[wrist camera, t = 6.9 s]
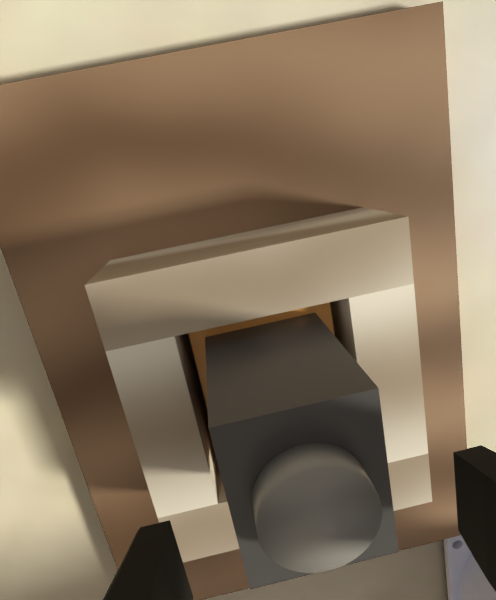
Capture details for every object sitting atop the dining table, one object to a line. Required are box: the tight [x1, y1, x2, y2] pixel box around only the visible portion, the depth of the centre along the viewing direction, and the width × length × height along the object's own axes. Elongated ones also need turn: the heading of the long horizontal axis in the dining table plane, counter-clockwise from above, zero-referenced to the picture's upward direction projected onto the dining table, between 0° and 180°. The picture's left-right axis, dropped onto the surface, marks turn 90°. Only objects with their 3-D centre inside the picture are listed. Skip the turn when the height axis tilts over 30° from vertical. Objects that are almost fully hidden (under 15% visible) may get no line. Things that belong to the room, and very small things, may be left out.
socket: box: [0, 1, 467, 600], centre depth 16 cm, size 22×16×5 cm
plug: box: [205, 313, 399, 589], centre depth 12 cm, size 4×4×6 cm
